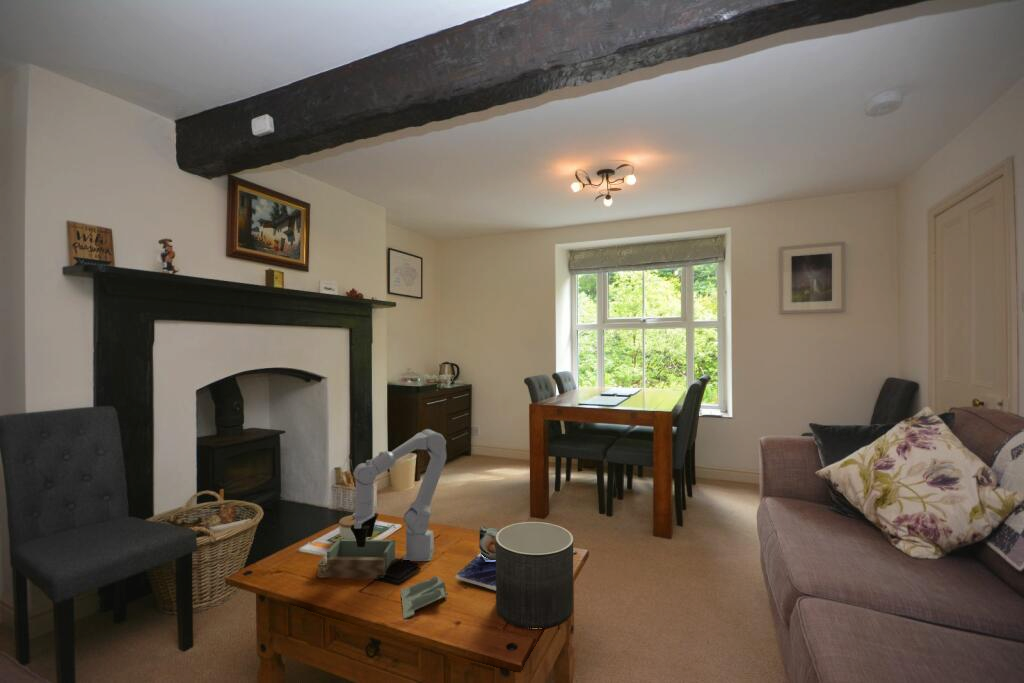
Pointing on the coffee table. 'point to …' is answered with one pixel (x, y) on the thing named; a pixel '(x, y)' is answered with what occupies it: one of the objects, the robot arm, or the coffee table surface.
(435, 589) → the metal bracket
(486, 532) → the lucky cat figurine
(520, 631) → the coffee table surface
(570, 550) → the planter
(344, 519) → the lidded jar
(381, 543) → the sage green open box
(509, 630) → the coffee table surface
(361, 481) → the robot arm
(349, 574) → the brown gear-headed lever
